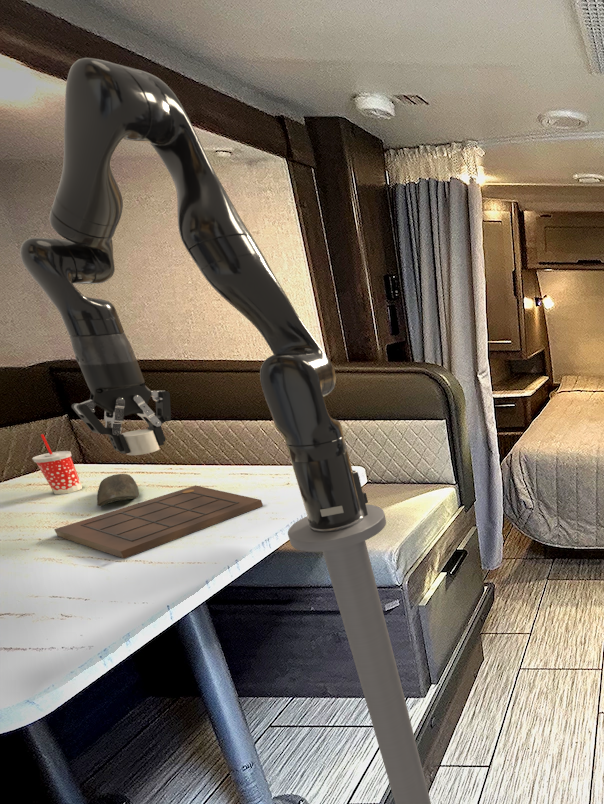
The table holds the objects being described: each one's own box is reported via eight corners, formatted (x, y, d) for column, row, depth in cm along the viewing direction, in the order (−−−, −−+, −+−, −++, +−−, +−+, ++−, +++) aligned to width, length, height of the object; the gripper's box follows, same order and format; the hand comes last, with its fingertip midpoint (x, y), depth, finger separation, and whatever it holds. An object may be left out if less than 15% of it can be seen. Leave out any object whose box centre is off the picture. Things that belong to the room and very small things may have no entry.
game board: (197, 491, 118) (195, 484, 118) (263, 506, 109) (260, 499, 109) (57, 536, 98) (53, 528, 97) (124, 558, 89) (120, 550, 88)
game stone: (151, 446, 100) (144, 428, 99) (165, 449, 99) (158, 430, 97) (120, 453, 96) (113, 434, 95) (135, 456, 95) (127, 437, 93)
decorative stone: (139, 504, 111) (132, 487, 110) (99, 513, 108) (90, 495, 106) (141, 483, 123) (134, 467, 122) (104, 490, 119) (97, 474, 118)
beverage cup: (58, 488, 122) (31, 432, 116) (91, 483, 124) (67, 429, 119) (43, 497, 116) (14, 439, 111) (78, 492, 119) (52, 435, 114)
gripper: (65, 367, 84) (106, 462, 90) (166, 355, 96) (196, 440, 102) (42, 364, 86) (83, 458, 92) (143, 354, 99) (174, 437, 105)
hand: (142, 448), depth 97 cm, fingers closed on game stone, 4 cm apart
